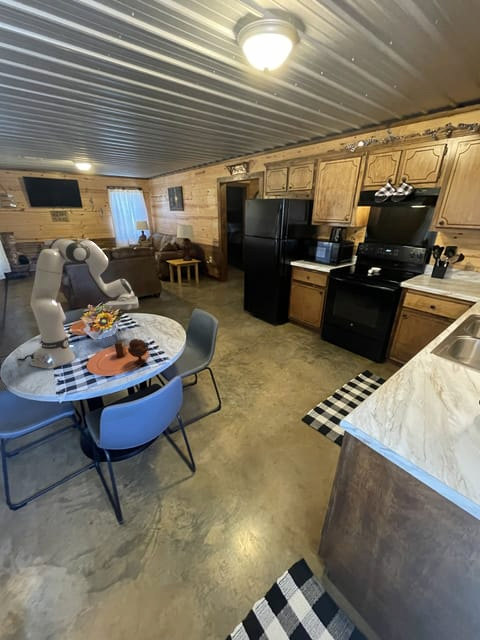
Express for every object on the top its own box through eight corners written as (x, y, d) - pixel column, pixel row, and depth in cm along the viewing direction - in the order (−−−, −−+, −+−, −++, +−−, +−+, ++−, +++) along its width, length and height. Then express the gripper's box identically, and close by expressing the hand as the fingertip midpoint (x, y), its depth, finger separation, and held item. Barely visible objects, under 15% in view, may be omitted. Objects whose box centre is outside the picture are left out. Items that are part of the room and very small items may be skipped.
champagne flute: (57, 337, 181) (47, 304, 171) (67, 333, 186) (58, 301, 177) (62, 339, 178) (52, 305, 168) (72, 335, 183) (63, 302, 174)
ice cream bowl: (144, 368, 145) (140, 344, 139) (126, 365, 147) (121, 342, 141) (154, 358, 155) (150, 335, 149) (136, 356, 157) (132, 333, 151)
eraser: (117, 357, 156) (114, 344, 152) (119, 352, 161) (116, 339, 157) (124, 356, 156) (121, 343, 153) (126, 352, 161) (123, 339, 158)
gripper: (106, 298, 169) (99, 305, 157) (139, 296, 173) (135, 303, 160) (108, 307, 172) (102, 315, 159) (140, 305, 175) (137, 313, 163)
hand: (119, 309), depth 160 cm, fingers open, 8 cm apart
